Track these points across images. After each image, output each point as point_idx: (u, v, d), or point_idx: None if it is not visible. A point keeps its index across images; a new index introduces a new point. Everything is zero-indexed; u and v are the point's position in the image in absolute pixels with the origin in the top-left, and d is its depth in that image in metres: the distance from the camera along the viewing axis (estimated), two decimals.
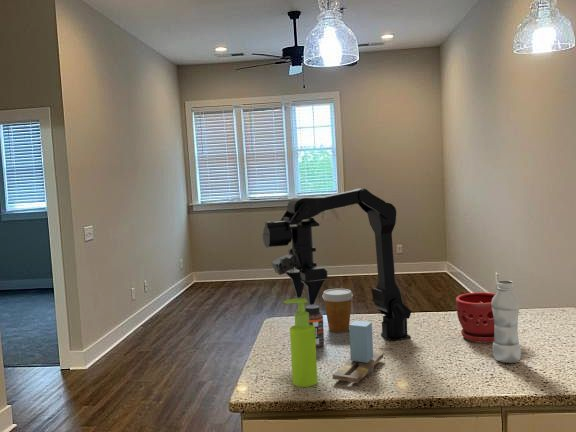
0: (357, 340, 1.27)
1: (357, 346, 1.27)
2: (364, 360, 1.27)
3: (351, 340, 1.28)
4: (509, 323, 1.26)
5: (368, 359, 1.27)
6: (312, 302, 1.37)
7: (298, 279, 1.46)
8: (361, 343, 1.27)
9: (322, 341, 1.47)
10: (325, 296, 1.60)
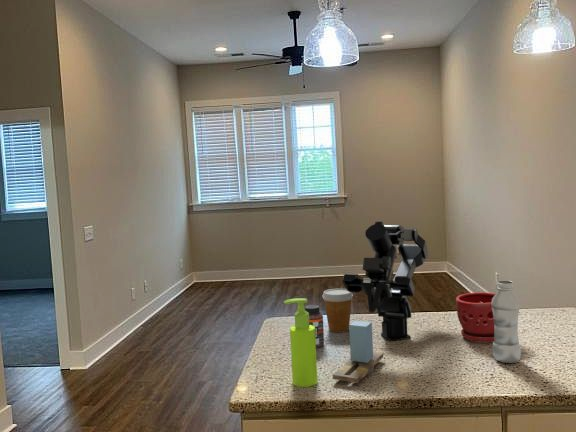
0: (357, 340, 1.27)
1: (357, 346, 1.27)
2: (364, 360, 1.27)
3: (351, 340, 1.28)
4: (509, 323, 1.26)
5: (368, 359, 1.27)
6: (373, 310, 1.35)
7: (373, 295, 1.38)
8: (361, 343, 1.27)
9: (322, 341, 1.47)
10: (325, 296, 1.60)
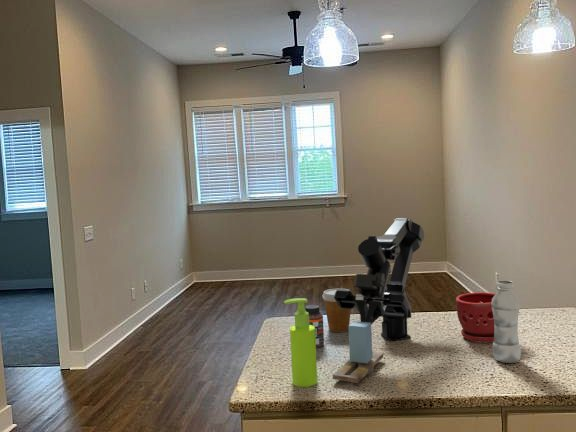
0: (356, 340, 1.27)
1: (356, 346, 1.27)
2: (363, 361, 1.26)
3: (350, 341, 1.28)
4: (509, 323, 1.26)
5: (368, 360, 1.27)
6: None
7: (366, 313, 1.33)
8: (360, 343, 1.26)
9: (322, 341, 1.47)
10: (325, 296, 1.60)
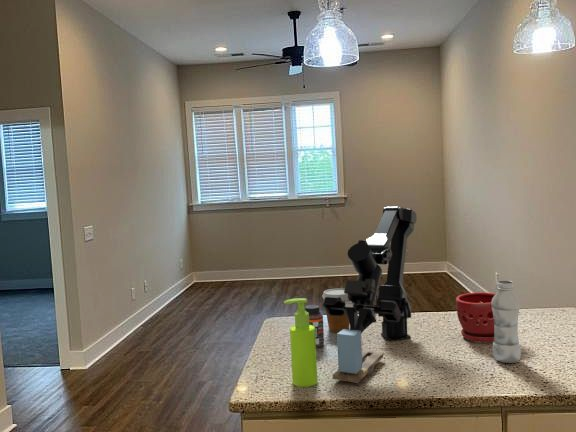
0: (345, 350, 1.21)
1: (345, 356, 1.21)
2: (352, 371, 1.20)
3: (339, 350, 1.21)
4: (509, 323, 1.26)
5: (357, 370, 1.21)
6: None
7: (356, 321, 1.27)
8: (349, 353, 1.20)
9: (322, 341, 1.47)
10: (325, 296, 1.60)
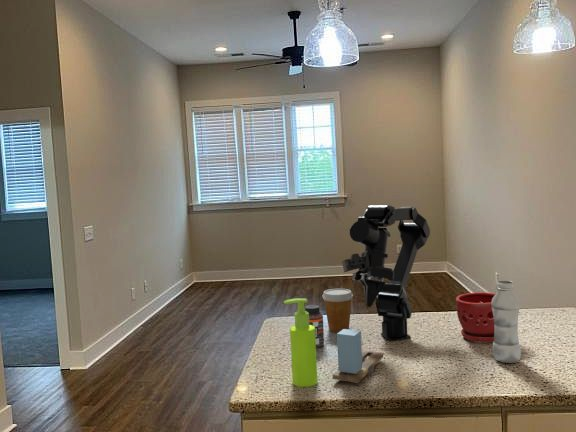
0: (345, 350, 1.21)
1: (345, 356, 1.21)
2: (352, 371, 1.20)
3: (339, 350, 1.21)
4: (509, 323, 1.26)
5: (357, 370, 1.21)
6: (369, 304, 1.39)
7: None
8: (349, 353, 1.20)
9: (322, 341, 1.47)
10: (325, 296, 1.60)
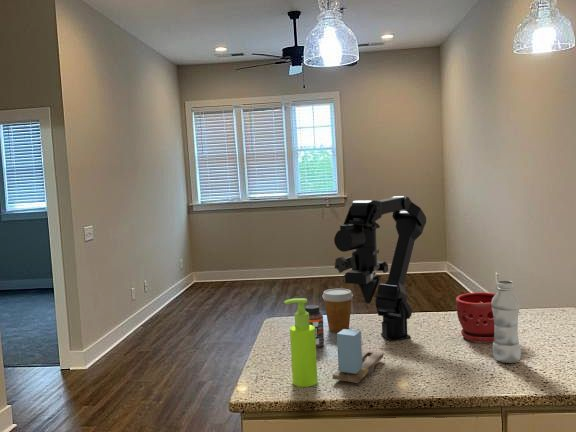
0: (345, 350, 1.21)
1: (345, 356, 1.21)
2: (352, 371, 1.20)
3: (339, 350, 1.21)
4: (509, 323, 1.26)
5: (357, 370, 1.21)
6: (367, 301, 1.41)
7: None
8: (349, 353, 1.20)
9: (322, 341, 1.47)
10: (325, 296, 1.60)
